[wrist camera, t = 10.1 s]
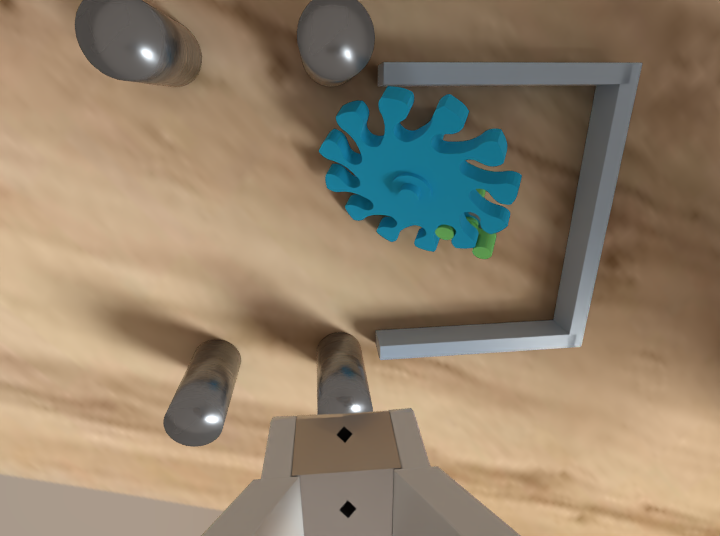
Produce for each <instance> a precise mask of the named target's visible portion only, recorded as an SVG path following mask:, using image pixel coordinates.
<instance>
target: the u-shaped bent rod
mask: <svg viewBox="0 0 720 536" xmlns="http://www.w3.org/2000/svg"><path fill="white" fill-rule="evenodd" d="M641 67H642V63H535V62H383V63H382V64H380V65H378V86H596V89H595V94H594V100H593V105H592V111H591V116H590V122H589V127H588V133H587V138H586V143H585V149H584V154H583V160H582V165H581V171H580V176H579V182H578V187H577V193H576V198H575V204H574V209H573V215H572V220H571V226H570V231H569V236H568V242H567V247H566V253H565V258H564V264H563V269H562V275H561V280H560V286H559V291H558V297H557V302H556V308H555V313H554V319H553V320H544V321H527V322H510V323H493V324H476V325H459V326H442V327H425V328H408V329H391V330H376V347H377V350H378V354H379V358H380V360H388V359H403V358H418V357H433V356H449V355H464V354H479V353H494V352H509V351H525V350H540V349H555V348H570V347H581V345H582V341H583V336H584V331H585V327H586V322H587V317H588V313H589V308H590V303H591V299H592V294H593V290H594V285H595V280H596V276H597V271H598V266H599V262H600V257H601V253H602V248H603V243H604V239H605V234H606V229H607V225H608V220H609V216H610V211H611V206H612V202H613V197H614V192H615V188H616V183H617V179H618V174H619V169H620V165H621V160H622V155H623V151H624V146H625V141H626V137H627V132H628V128H629V123H630V118H631V114H632V109H633V104H634V100H635V95H636V91H637V86H638V81H639V77H640V72H641Z"/></svg>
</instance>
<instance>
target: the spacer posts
mask: <svg viewBox="0 0 720 536" xmlns="http://www.w3.org/2000/svg"><path fill="white" fill-rule="evenodd" d="M75 31H76V37H77V40H78V43H79V46H80V48H81V50H82V52H83V54H84V55H85V56H86V58H87V59H88V60H89V62H90V63H91V64H92V65H93V66H94V67H95V68H97V69H98V70H99V71H100V72H102V73H104V74H105V75H107V76H109V77H112V78H115V79H118V80H124V81H132V82H139V83H147V84H155V85H163V86H170V87H180V86H184V85H187V84H189V83H190V82H192V81H193V80H194V79H195V78H196V76H197V75H198V73H199V71H200V68H201V63H202V55H201V50H200V46H199V44H198V42H197V40H196V38H195V37H194V35H193V34H192V33H191V32H190V31H189V30H188V29H187V28H186V27H184V26H183V25H181V24H180V23H178V22H176V21H175V20H173V19H171V18H170V17H168V16H167V15H165V14H163V13H162V12H160V11H158V10H157V9H155V8H153V7H152V6H150V5H148V4H147V3H145V2H144V1H142V0H83V1H82V2H81V4H80V6H79V8H78V10H77V14H76V18H75ZM297 41H298V46H299V51H300V55H301V59H302V63H303V66H304V68H305V70H306V72H307V73H308V75H309V76H310V77H311V78H312V79H313V80H314V81H316V82H317V83H319V84H321V85H324V86H338V85H341V84H343V83H345V82H346V81H348V80H349V79H351V78H352V77H353V76H355V75H356V74H358V73H359V72H360V71H361V70H362V69H363V68H364V67H365V66H366V65H367V63H368V61H369V60H370V57H371V55H372V52H373V49H374V41H375V34H374V27H373V23H372V20H371V18H370V16H369V14H368V12H367V11H366V9H365V8H364V7H363V5H362V4H361V3H360V2H358V1H357V0H312V1H311V2H310V3H309V4H308V5H307V7H306V8H305V9H304V11H303V13H302V15H301V17H300V20H299V23H298V29H297ZM240 364H241V356H240V353H239V351H238V350H237V349H236V348H235V347H234V346H233V345H232V344H230V343H228V342H226V341H222V340H211V341H207V342H205V343H203V344H201V345H200V346H199V347H198V348H197V350H196V351H195V354H194V356H193V358H192V360H191V362H190V364H189V366H188V368H187V370H186V372H185V375H184V377H183V379H182V381H181V383H180V385H179V387H178V389H177V391H176V393H175V396H174V398H173V400H172V402H171V404H170V406H169V408H168V410H167V412H166V414H165V417H164V428H165V431H166V433H167V434H168V435H169V436H170V437H171V438H172V439H173V440H174V441H176V442H178V443H180V444H183V445H186V446H203V445H206V444H209V443H211V442H213V441H214V440H215V439H217V438H218V437H219V435H220V434H221V432H222V429H223V425H224V422H225V418H226V415H227V411H228V407H229V404H230V400H231V397H232V393H233V389H234V386H235V382H236V379H237V375H238V372H239V368H240ZM317 402H318V415H322V414H347V413H362V412H373V407H372V402H371V397H370V392H369V387H368V382H367V377H366V372H365V367H364V362H363V357H362V351H361V347H360V344H359V342H358V341H357V339H356V338H355V337H353V336H352V335H350V334H347V333H333V334H330V335H328V336H326V337H325V338H324V339H323V340H322V341H321V342H320V343H319V345H318V348H317Z"/></svg>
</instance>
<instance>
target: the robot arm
mask: <svg viewBox="0 0 720 536" xmlns="http://www.w3.org/2000/svg"><path fill="white" fill-rule="evenodd" d="M201 536H520V535H519V534H518V533H517V532H516V531H514V530H513V529H512V528H511V527H510V526H508V525H507V524H506V523H505V522H504V521H502V520H501V519H500V518H499V517H498V516H496V515H495V514H494V513H493V512H492V511H490V510H489V509H488V508H487V507H486V506H484V505H483V504H482V503H481V502H480V501H479V500H477V499H476V498H475V497H474V496H473V495H471V494H470V493H469V492H468V491H467V490H465V489H464V488H463V487H462V486H461V485H459V484H458V483H457V482H456V481H455V480H453V479H452V478H451V477H450V476H449V475H447V474H446V473H445V472H444V471H443V470H441V469H440V468H439V467H431V466H430V463H429V460H428V457H427V453H426V450H425V447H424V444H423V440H422V437H421V434H420V430H419V427H418V424H417V421H416V417H415V414H414V411H413V410H412V409H411V408H407V409H396V410H389V411H376V412H362V413H347V414H322V415H297V416H281V417H273V418H272V420H271V423H270V429H269V435H268V441H267V446H266V452H265V458H264V464H263V470H262V476H261V479H258V480H253V481H252V482H251V483H250V484H249V485H248V486H247V487H246V488H245V489H244V490H243V491H242V493H241V494H240V495H239V496H238V497H237V498H236V499H235V500H234V501H233V502H232V503H231V504H230V505H229V506H228V508H227V509H226V510H225V511H224V512H223V513H222V514H221V515H220V516H219V517H218V518H217V519H216V520H215V521H214V523H213V524H212V525H211V526H210V527H209V528H208V529H207V530H206V531H205V532H204V533H203V534H202V535H201Z"/></svg>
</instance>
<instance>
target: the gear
mask: <svg viewBox="0 0 720 536" xmlns="http://www.w3.org/2000/svg"><path fill="white" fill-rule="evenodd" d="M413 103H414V94H413V92H412V91H410V90H408V89H405V88H401V87H395V86H387V88H386V90H385V91H384V93H383V95H382V97H381V99H380V100H379V111H380V113H381V114H382V117H383V120H384V124H385V133H384V135H383V136H377V135H374V134H372V133H371V132H370V131H369V130H368V128H367V121H368V117H369V109H368V107H367V105H366V104H365V103H364V102H363V101H358V100H357V101H352V102H349V103H347V104H345V105H343V106H342V108H341V109H340V111H339V112H338V114H337V116H336V121H337V123H338V125H339V126H340V127H341V128H342V129H343V130H344V131H345V132H347V133H348V134H349V135H350V136H351V137H352V138H353V140H354V141H355V142H356V144H357V146H358V148H359V150H360V153H361V154H359V153H356V152H354V151H353V150H352V149H351V148H350V146H349V143H348V141H347V138H346V136H345V135H344V134H343V133H342V132H341V131H339V130H337V129H333V130H332V131H331V132H330V133H329V134H328V136H327V137H326V139H325V141H324V142H323V144H322V145H321V147H320V150H319V152H320V154H321V155H322V156H323V157H325V158H327V159H329V160H332V161H335V162H338V163H340V164H342V165H343V166H345V167H346V168H348V169H349V170H350V171H351V172H353V173H354V174H355V175H356V176H357V177H356V176H354V175H352V174H351V173H350V172H349V171H348V170H347V169H346V168H345V167H343V166H342V165H339V164H332V165H331V167H330V169H329V170H328V172H327V174H326V177H325V180H326V185H327V188H328V189H329V190H331V191H334V192H352V193H355V194H358V195H351V196H350V198H349V200H348V202H347V204H346V205H345V208H346V210H347V212H348V214H349V215H350V216H351V217H352V218H353V219H354V220H358V221H360V220H363V219H364V218H366V217H368V216H371V215H386V216H390V217H384V218H382V220H381V222H380V224H379V226H378V229H377V233H378V234H380V235H381V236H382V237H384V238H385V239H387V240H389V241H391V242H393V241H396V240H397V238H398V236H399V233H400V231H401V230H403V229H404V228H406V227H409V226H412V225H417V226H420V227H422V228H421V229H419V231H418V234H417V236H416V239H415V242H414V244H415V246H416V247H418V248H421V249H424V250H427V251H432V252H434V251H435V250H436V248H437V245H438V242H439V239H440V238H441V239H444V240H450V239H452V241H451V242H452V245H453V246H454V247H456V248H464V249H465V248H473V251H472V252H473V254H474V255H475V256H476V257H478V258H481V259H488V258H490V257H491V256H492V252H493V248H494V244H495V240H496V233H497V232H499V231H501V230H503V229H504V228H506V227H507V226H508V222H509V218H510V212H509V210H508V209H506V208H505V207H503V206H500V205H496V204H494V203H491V202H490V201H488V200H486V199H485V198H484V195H485V192H486V191H488V192H489V193H490V195H491V196H492V197H493V198H494V199H495V200H496V201H497V202H499V203H501V204H506V205H511V204H512V203H513V202H514V200H515V199H516V197H517V194H518V190H519V186H520V182H521V178H522V175H521V174H519V173H517V172H514V171H503V172H494V171H487V170H483V169H481V168H478V167H476V166H474V165H471V164H469V163H468V162H467V161H466V160H475V161H478V162H480V163H482V164H484V165H487V166H499V165H501V164H503V163H504V160H505V156H506V152H507V141H506V138H505V136H504V134H503V132H502V130H501V129H489V130H487V131H485V132H484V133H483V134H481V135H480V136H478V137H476V138H474V139H471V140H467V141H459V142H449V141H444V140H442V139H443V137H444V134H454V133H457V132H459V131H460V130H462V128H463V127H464V124H465V122H466V119H467V116H468V113H469V110H468V109H467V107H466V106H465V105H464V104H463V103H462V102H461V101H459V100H458V99H457V98H455V97H454V96H452V95H450V94H448V95H445V96H443V97H442V98H441V99H440V101H439V103H438V105H437V107H436V110H435V112H434V114H433V116H432V118H431V120H430V121H429V122H428V123H427V124H426V125H424V126H422V127H421V128H419V129H417V130H413V131H412V130H407V129H405V128H404V127H403V126H402V125H401V124H400V122H401V121H403V120H404V119H405V118H406V117H407V116H408V113H409V111H410V109H411V107H412V105H413Z"/></svg>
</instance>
